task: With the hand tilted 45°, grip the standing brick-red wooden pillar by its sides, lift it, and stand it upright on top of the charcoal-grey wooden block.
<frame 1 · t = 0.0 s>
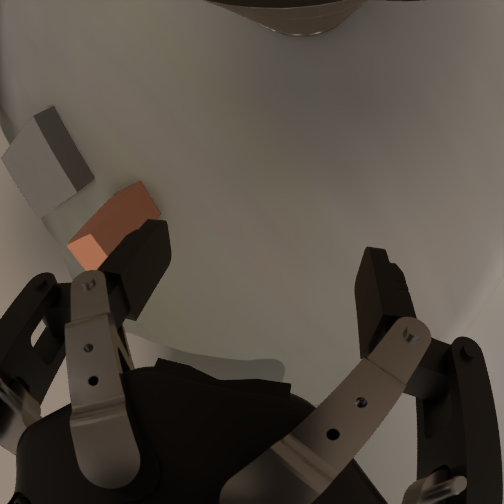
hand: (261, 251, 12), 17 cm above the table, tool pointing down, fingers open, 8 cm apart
charcoal block: (53, 159, 31), on the table
brick pillar: (136, 203, 33), on the table
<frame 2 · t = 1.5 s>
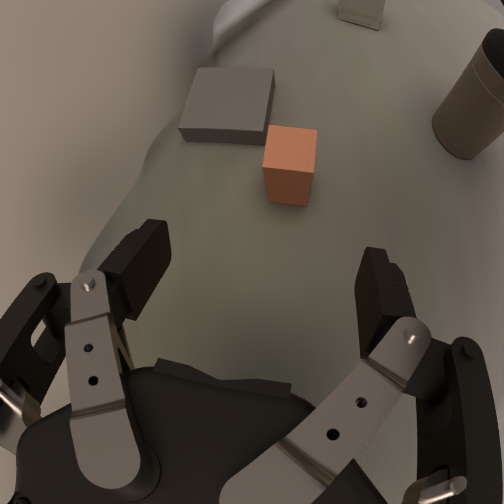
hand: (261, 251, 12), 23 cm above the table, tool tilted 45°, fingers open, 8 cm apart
charcoal block: (232, 111, 39), on the table
skincare box: (358, 19, 40), on the table
brick pillar: (289, 186, 36), on the table
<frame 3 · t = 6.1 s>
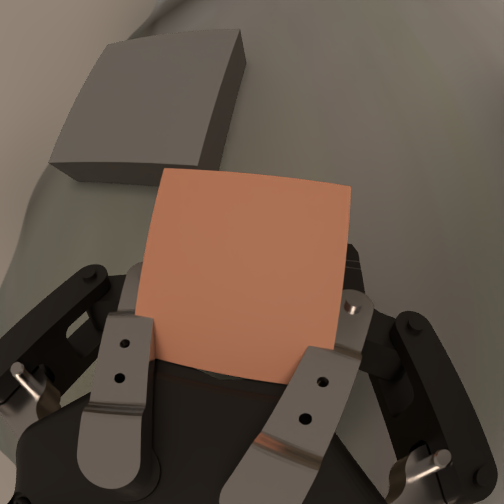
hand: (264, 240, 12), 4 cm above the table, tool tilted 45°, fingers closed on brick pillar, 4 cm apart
charcoal block: (160, 118, 19), on the table
brick pillar: (264, 289, 16), on the table, touching gripper
when the fingers open (10 cm above the table, at t = 11.3 s): brick pillar drops 2 cm, resting on charcoal block.
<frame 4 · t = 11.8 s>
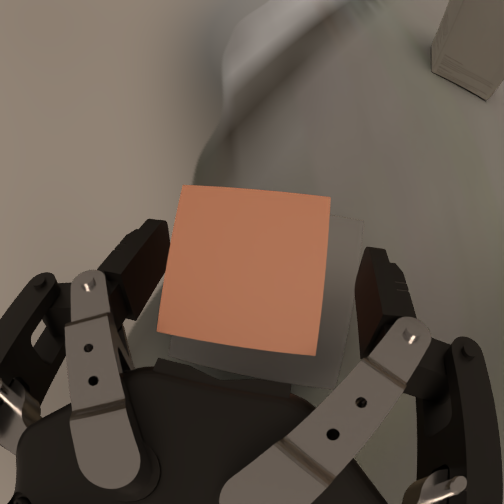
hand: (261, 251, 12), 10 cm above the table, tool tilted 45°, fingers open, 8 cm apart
charcoal block: (269, 293, 22), on the table, touching brick pillar
skincare box: (456, 73, 24), on the table
brick pillar: (264, 292, 18), point 4 cm above the table, touching charcoal block
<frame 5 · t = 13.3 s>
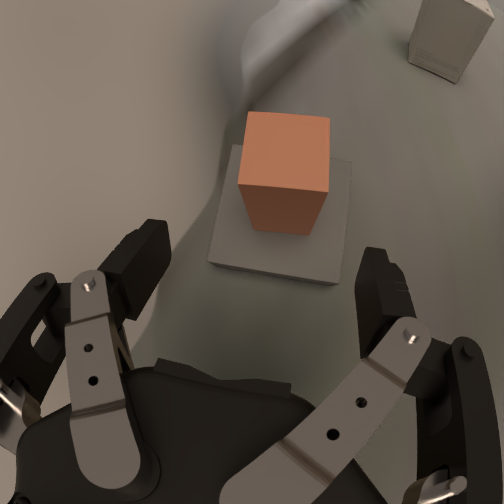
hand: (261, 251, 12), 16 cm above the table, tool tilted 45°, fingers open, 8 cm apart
charcoal block: (283, 220, 29), on the table
skincare box: (430, 63, 30), on the table
brick pillar: (284, 206, 25), point 4 cm above the table
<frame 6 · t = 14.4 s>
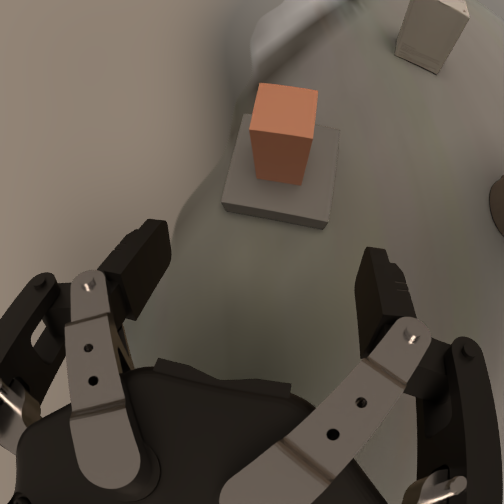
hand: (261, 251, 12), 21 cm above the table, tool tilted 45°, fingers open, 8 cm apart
charcoal block: (283, 176, 34), on the table, touching brick pillar
skincare box: (415, 56, 35), on the table
brick pillar: (282, 162, 30), point 4 cm above the table, touching charcoal block
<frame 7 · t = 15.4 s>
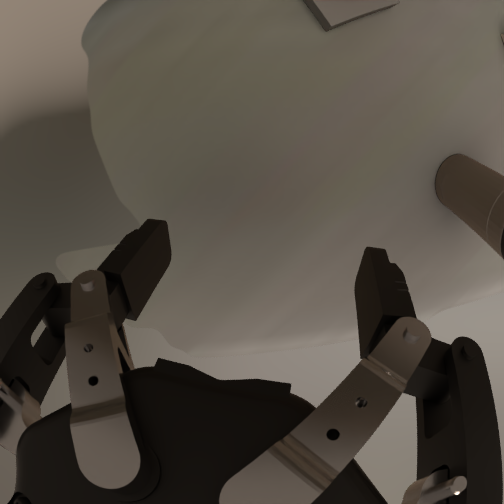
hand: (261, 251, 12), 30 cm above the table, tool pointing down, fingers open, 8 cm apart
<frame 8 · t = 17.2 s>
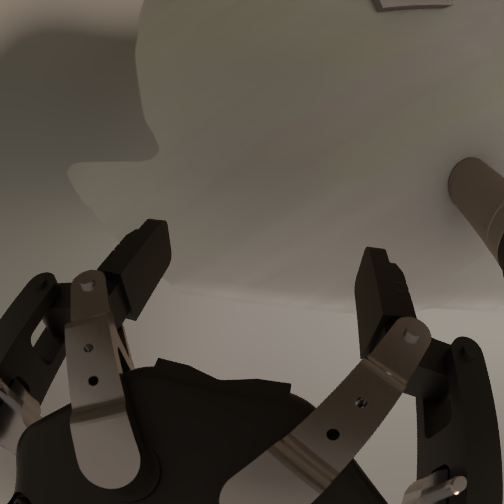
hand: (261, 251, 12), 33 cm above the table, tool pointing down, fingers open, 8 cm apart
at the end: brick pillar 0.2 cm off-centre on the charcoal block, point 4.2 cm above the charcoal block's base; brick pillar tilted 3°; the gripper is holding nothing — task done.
